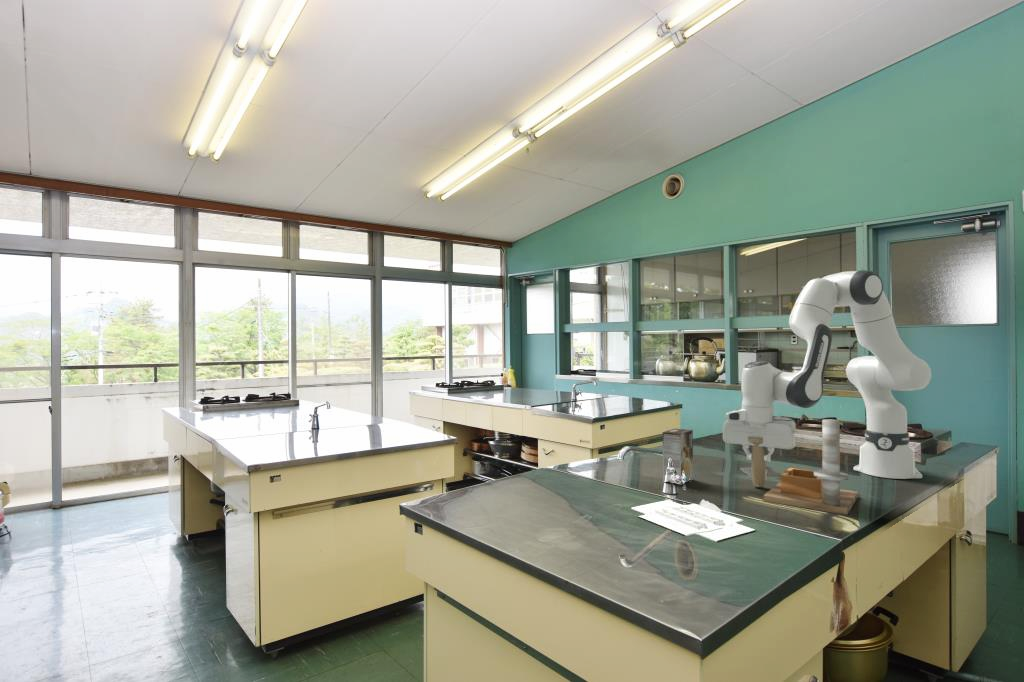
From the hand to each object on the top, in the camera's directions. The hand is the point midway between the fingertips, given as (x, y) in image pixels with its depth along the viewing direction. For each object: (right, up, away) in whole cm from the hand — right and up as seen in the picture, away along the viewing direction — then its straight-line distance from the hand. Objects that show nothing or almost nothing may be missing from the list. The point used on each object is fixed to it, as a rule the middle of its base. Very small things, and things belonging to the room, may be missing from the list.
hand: (758, 460), depth 165 cm
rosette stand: (+9, -8, -12) cm, 17 cm away
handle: (0, -8, 0) cm, 8 cm away
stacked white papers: (-30, -9, -28) cm, 42 cm away
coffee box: (-22, -9, +8) cm, 25 cm away
